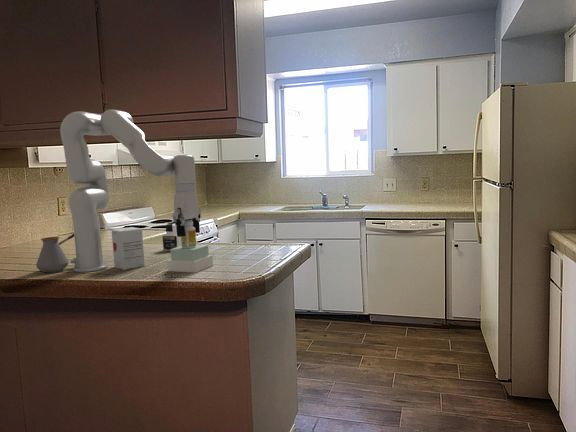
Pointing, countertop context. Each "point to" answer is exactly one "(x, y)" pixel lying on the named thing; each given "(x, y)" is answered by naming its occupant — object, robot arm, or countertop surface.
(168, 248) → the medicine bottle
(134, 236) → the supplement box
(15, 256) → the countertop surface
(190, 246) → the supplement bottle
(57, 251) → the coffee pot
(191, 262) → the block
